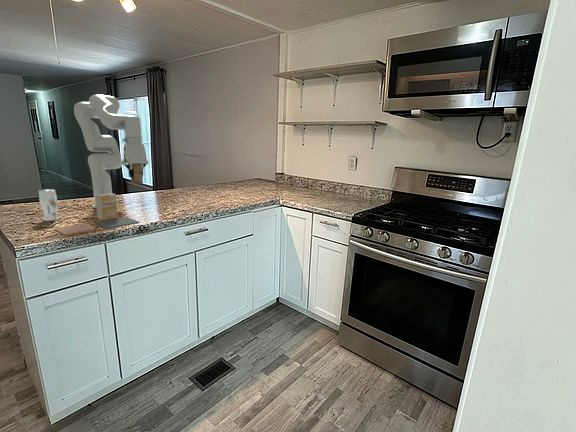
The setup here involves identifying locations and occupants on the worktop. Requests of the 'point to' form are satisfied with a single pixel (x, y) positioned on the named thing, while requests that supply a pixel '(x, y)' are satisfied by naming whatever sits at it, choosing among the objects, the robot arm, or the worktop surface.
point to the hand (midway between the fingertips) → (136, 176)
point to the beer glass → (49, 204)
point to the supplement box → (106, 206)
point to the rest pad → (75, 229)
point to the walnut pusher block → (137, 174)
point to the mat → (116, 222)
